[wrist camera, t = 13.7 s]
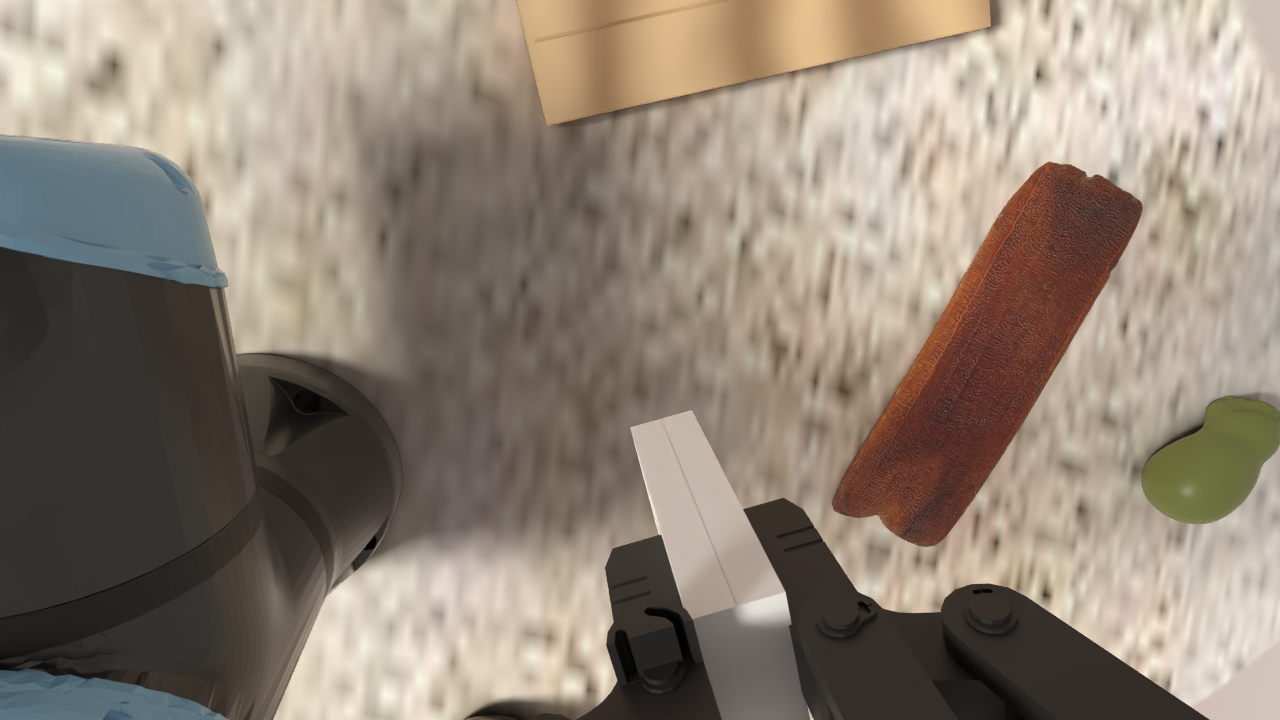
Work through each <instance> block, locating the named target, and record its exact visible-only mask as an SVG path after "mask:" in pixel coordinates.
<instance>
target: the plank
mask: <svg viewBox="0 0 1280 720" xmlns="http://www.w3.org/2000/svg"><path fill="white" fill-rule="evenodd" d="M516 2H517V6H518V10H519V14H520V18H521V22H522V27H523V31H524V35H525V39H526V43H527V47H528V51H529V56H530V60H531V64H532V68H533V72H534V76H535V80H536V85H537V89H538V93H539V97H540V101H541V105H542V109H543V114H544V118H545V122H546V126H550V125H554V124H559V123H563V122H568V121H572V120H577V119H581V118H586V117H590V116H595V115H599V114H604V113H608V112H613V111H617V110H622V109H626V108H630V107H635V106H639V105H644V104H648V103H653V102H657V101H662V100H666V99H671V98H675V97H680V96H684V95H689V94H693V93H698V92H702V91H707V90H711V89H716V88H720V87H725V86H729V85H733V84H738V83H742V82H747V81H751V80H756V79H760V78H765V77H769V76H774V75H778V74H783V73H787V72H792V71H796V70H801V69H805V68H810V67H814V66H819V65H823V64H828V63H832V62H836V61H841V60H845V59H850V58H854V57H859V56H863V55H868V54H872V53H877V52H881V51H886V50H890V49H895V48H899V47H904V46H908V45H913V44H917V43H922V42H926V41H930V40H935V39H939V38H944V37H948V36H953V35H957V34H962V33H966V32H971V31H975V30H979V29H983V28H986V27H990V26H991V19H990V1H989V0H516Z"/></svg>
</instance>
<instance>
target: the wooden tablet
mask: <svg viewBox="0 0 1280 720" xmlns="http://www.w3.org/2000/svg"><path fill="white" fill-rule="evenodd" d="M1141 212H1142V204H1141V202H1140V201H1139V200H1137V199H1135V198H1134V197H1133V196H1132V195H1131V194H1129V193H1128V192H1125V191H1122V190H1121V189H1120V188H1118V187H1116V186H1115V185H1114V184H1113V183H1111V182H1110V181H1109V180H1107V179H1106V178H1104V177H1102V176H1100V175H1094V176H1093V177H1087V175H1086V172H1084V171H1082V170H1080V169H1078V168H1076V167H1074V166H1072V165H1069V164H1062V165H1061V164H1057V163H1053V162H1048V163H1046V164H1044V165H1043V166H1041V167H1039V168H1038V169H1037V170H1036V171H1035V172H1034V173H1033V174H1032V175H1031V176H1030V177H1029V179H1028V180H1027V181H1026V182H1025V183H1024V184H1023V185H1022V187H1021V188H1020V189H1019V190H1018V191H1017V192H1016V193H1015V194H1014V195H1013V196H1012V198H1011V199H1010V200H1009V201H1008V203H1007V204H1006V206H1005V207H1004V208H1003V210H1002V211H1001V213H1000V214H999V216H998V218H997V219H996V221H995V223H994V224H993V226H992V228H991V230H990V232H989V233H988V235H987V237H986V239H985V241H984V243H983V244H982V246H981V248H980V249H979V251H978V253H977V255H976V257H975V258H974V260H973V262H972V263H971V265H970V267H969V269H968V270H967V272H966V274H965V275H964V277H963V279H962V281H961V282H960V284H959V286H958V288H957V290H956V291H955V293H954V295H953V296H952V298H951V301H950V303H949V304H948V306H947V308H946V309H945V311H944V313H943V314H942V316H941V318H940V320H939V322H938V323H937V324H936V326H935V328H934V330H933V331H932V333H931V335H930V336H929V338H928V340H927V342H926V343H925V345H924V346H923V348H922V350H921V351H920V353H919V354H918V356H917V358H916V360H915V362H914V363H913V365H912V366H911V368H910V369H909V371H908V373H907V374H906V376H905V377H904V379H903V380H902V382H901V383H900V385H899V386H898V388H897V390H896V392H895V394H894V395H893V397H892V399H891V400H890V402H889V403H888V405H887V407H886V409H885V410H884V411H883V413H882V415H881V417H880V418H879V420H878V422H877V423H876V425H875V426H874V428H873V429H872V431H871V432H870V434H869V436H868V437H867V439H866V440H865V442H864V443H863V445H862V446H861V447H860V449H859V451H858V453H857V455H856V456H855V458H854V459H853V461H852V462H851V464H850V466H849V468H848V469H847V471H846V473H845V476H844V477H843V479H842V481H841V482H840V484H839V487H838V489H837V491H836V494H835V497H834V499H833V502H832V505H833V509H834V510H835V511H836V512H838V513H840V514H843V515H846V516H851V517H854V518H861V517H869V516H873V515H878V516H880V519H881V520H882V522H883V524H884V525H885V526H886V527H887V528H888V529H889V530H890V531H891V532H893V533H894V534H896V535H897V536H899V537H901V538H902V539H904V540H906V541H908V542H911V543H913V544H916V545H919V546H924V547H928V546H935V545H937V544H938V543H939V542H941V541H942V540H943V539H944V537H945V536H946V535H947V534H948V533H949V532H950V530H951V529H952V528H953V526H954V525H955V523H956V522H957V521H958V520H959V518H960V517H961V516H962V514H963V513H964V511H965V510H966V508H967V507H968V506H969V504H970V503H971V502H972V500H973V499H974V497H975V495H976V494H977V493H978V491H979V490H980V488H981V487H982V485H983V483H984V482H985V480H986V479H987V477H988V476H989V474H990V473H991V471H992V470H993V468H994V467H995V466H996V464H997V462H998V461H999V459H1000V458H1001V456H1002V455H1003V453H1004V451H1005V450H1006V448H1007V446H1008V445H1009V444H1010V442H1011V441H1012V439H1013V437H1014V436H1015V434H1016V432H1017V431H1018V429H1019V428H1020V426H1021V425H1022V423H1023V422H1024V420H1025V418H1026V417H1027V415H1028V413H1029V412H1030V410H1031V408H1032V407H1033V405H1034V403H1035V402H1036V400H1037V398H1038V397H1039V395H1040V393H1041V392H1042V390H1043V388H1044V386H1045V385H1046V383H1047V381H1048V380H1049V378H1050V376H1051V375H1052V373H1053V371H1054V369H1055V368H1056V366H1057V365H1058V363H1059V361H1060V360H1061V358H1062V356H1063V355H1064V353H1065V351H1066V349H1067V348H1068V346H1069V344H1070V342H1071V341H1072V339H1073V337H1074V336H1075V334H1076V332H1077V330H1078V329H1079V327H1080V325H1081V324H1082V322H1083V320H1084V318H1085V317H1086V315H1087V314H1088V312H1089V311H1090V309H1091V307H1092V305H1093V303H1094V302H1095V300H1096V298H1097V297H1098V295H1099V294H1100V292H1101V290H1102V288H1103V287H1104V285H1105V284H1106V282H1107V280H1108V278H1109V275H1110V272H1111V270H1112V269H1113V268H1114V267H1115V266H1116V264H1117V263H1118V260H1119V258H1120V257H1121V255H1122V253H1123V252H1124V250H1125V248H1126V247H1127V245H1128V242H1129V240H1130V238H1131V237H1132V235H1133V233H1134V230H1135V228H1136V226H1137V224H1138V221H1139V219H1140V216H1141Z"/></svg>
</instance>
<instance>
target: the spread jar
mask: <svg viewBox="0 0 1280 720" xmlns="http://www.w3.org/2000/svg"><path fill="white" fill-rule="evenodd" d="M466 720H518V719H515V718H511V717H507V716H500V715H483V716H476V717H471V718H468V719H466Z"/></svg>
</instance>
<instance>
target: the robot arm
mask: <svg viewBox="0 0 1280 720" xmlns="http://www.w3.org/2000/svg"><path fill="white" fill-rule="evenodd" d="M228 286H229V285H228V280H227V277H226V275H225V273H224V272H223V271H221V270H220V269H219V268H218V265H217V261H216V257H215V253H214V249H213V245H212V241H211V237H210V233H209V229H208V225H207V220H206V216H205V212H204V208H203V204H202V200H201V197H200V194H199V192H198V190H197V188H196V186H195V184H194V183H193V181H192V180H191V178H190V177H189V176H188V175H187V174H186V173H185V172H184V171H183V170H182V169H181V168H180V167H179V166H178V165H177V164H175V163H174V162H172V161H171V160H169V159H168V158H166V157H164V156H162V155H160V154H158V153H155V152H153V151H150V150H147V149H143V148H137V147H131V146H124V145H115V144H104V143H94V142H83V141H72V140H62V139H51V138H39V137H28V136H17V135H5V134H0V720H273V719H274V716H275V714H276V712H277V709H278V707H279V705H280V702H281V700H282V698H283V695H284V693H285V691H286V688H287V686H288V684H289V681H290V679H291V677H292V674H293V672H294V670H295V667H296V665H297V663H298V660H299V658H300V656H301V653H302V651H303V649H304V646H305V644H306V642H307V639H308V637H309V635H310V632H311V630H312V628H313V625H314V623H315V620H316V618H317V616H318V613H319V611H320V608H321V606H322V604H323V602H324V599H325V597H326V596H327V595H329V594H330V593H331V592H332V591H333V590H334V589H335V588H336V587H338V586H339V585H340V584H341V583H342V582H343V581H344V580H345V579H347V578H348V577H349V576H350V575H351V574H352V573H353V572H354V571H356V570H357V569H358V568H359V567H360V566H361V565H362V564H363V563H364V562H366V561H367V560H368V558H369V557H370V556H371V555H372V554H373V553H374V551H375V550H376V549H377V547H378V546H379V544H380V543H381V541H382V540H383V538H384V536H385V534H386V532H387V530H388V528H389V526H390V523H391V521H392V518H393V515H394V513H395V510H396V507H397V504H398V501H399V497H400V492H401V484H402V470H401V461H400V456H399V452H398V449H397V446H396V443H395V440H394V438H393V435H392V433H391V431H390V429H389V428H388V426H387V424H386V423H385V421H384V419H383V418H382V417H381V415H380V414H379V412H378V411H377V410H376V409H375V408H374V406H373V405H372V404H371V403H370V402H369V401H368V400H367V399H366V398H365V397H364V396H363V395H362V394H361V393H359V392H358V391H357V390H356V389H355V388H353V387H352V386H351V385H349V384H348V383H346V382H345V381H343V380H342V379H340V378H339V377H337V376H335V375H333V374H332V373H330V372H327V371H325V370H323V369H321V368H319V367H316V366H314V365H311V364H308V363H305V362H302V361H299V360H295V359H291V358H286V357H281V356H274V355H263V354H247V355H236V351H235V346H234V340H233V335H232V329H231V324H230V318H229V313H228V307H227V302H226V297H225V291H224V288H225V287H228ZM630 429H631V433H632V436H633V440H634V444H635V448H636V451H637V455H638V459H639V463H640V466H641V470H642V474H643V478H644V481H645V485H646V489H647V493H648V496H649V500H650V504H651V508H652V511H653V515H654V519H655V523H656V526H657V529H658V533H659V535H658V536H655V537H651V538H648V539H644V540H641V541H637V542H634V543H630V544H627V545H623V546H620V547H616V548H613V549H612V552H611V554H610V557H609V559H608V562H607V564H606V567H605V570H606V576H607V583H608V588H609V595H610V601H611V608H612V614H613V620H614V623H613V625H612V626H611V628H610V630H609V631H608V635H607V644H606V646H607V649H608V652H609V655H610V658H611V661H612V664H613V668H614V671H615V674H616V677H617V683H616V685H615V686H614V688H613V690H612V692H611V693H610V694H609V695H608V696H607V698H606V699H605V700H604V701H603V702H602V703H601V704H600V705H598V706H597V707H596V708H594V709H593V710H592V711H590V712H589V713H587V714H585V715H584V716H582V717H580V718H579V719H577V720H810V717H809V712H808V707H809V710H810V712H811V714H812V716H813V718H814V720H1209V719H1208V718H1206V717H1205V716H1203V715H1202V714H1200V713H1199V712H1197V711H1196V710H1194V709H1193V708H1191V707H1190V706H1188V705H1187V704H1185V703H1184V702H1182V701H1181V700H1179V699H1178V698H1176V697H1175V696H1173V695H1172V694H1170V693H1169V692H1167V691H1166V690H1164V689H1163V688H1161V687H1160V686H1158V685H1157V684H1155V683H1154V682H1153V681H1151V680H1150V679H1148V678H1147V677H1145V676H1144V675H1142V674H1141V673H1139V672H1138V671H1136V670H1135V669H1133V668H1132V667H1130V666H1129V665H1127V664H1126V663H1124V662H1123V661H1121V660H1120V659H1118V658H1117V657H1115V656H1114V655H1112V654H1111V653H1109V652H1108V651H1106V650H1105V649H1103V648H1102V647H1100V646H1099V645H1097V644H1096V643H1094V642H1093V641H1091V640H1090V639H1088V638H1087V637H1085V636H1084V635H1083V634H1081V633H1080V632H1078V631H1077V630H1075V629H1074V628H1072V627H1071V626H1069V625H1068V624H1066V623H1065V622H1063V621H1062V620H1060V619H1059V618H1057V617H1056V616H1054V615H1053V614H1051V613H1050V612H1048V611H1047V610H1045V609H1044V608H1042V607H1041V606H1039V605H1038V604H1036V603H1035V602H1033V601H1032V600H1030V599H1029V598H1027V597H1026V596H1024V595H1022V594H1020V593H1018V592H1016V591H1014V590H1012V589H1010V588H1008V587H1003V586H998V585H993V584H971V585H968V586H965V587H962V588H959V589H956V590H954V591H953V592H952V593H951V594H950V595H948V596H947V597H946V598H945V600H944V603H943V605H942V608H941V612H937V613H898V612H894V611H889V610H885V609H882V608H881V607H880V606H879V605H878V604H877V603H876V602H875V601H874V600H873V599H872V598H870V597H868V596H865V595H863V594H861V593H858V592H857V590H856V589H855V587H854V586H853V584H852V583H851V581H850V580H849V578H848V577H847V575H846V574H845V572H844V571H843V569H842V568H841V566H840V565H839V563H838V562H837V560H836V559H835V557H834V556H833V554H832V553H831V551H830V550H829V548H828V547H827V545H826V544H825V542H823V540H822V537H821V536H820V534H819V533H818V531H817V530H816V528H814V525H813V524H812V522H811V521H810V519H809V518H808V516H807V515H806V513H805V512H804V510H803V509H802V508H800V507H798V506H797V505H795V504H793V503H791V502H790V501H788V500H786V499H785V498H781V499H778V500H774V501H771V502H767V503H764V504H760V505H757V506H753V507H750V508H746V509H743V508H742V507H741V505H740V503H739V501H738V499H737V497H736V495H735V493H734V491H733V489H732V487H731V485H730V483H729V481H728V479H727V477H726V475H725V474H724V472H723V470H722V468H721V466H720V464H719V462H718V460H717V458H716V456H715V454H714V452H713V450H712V448H711V446H710V444H709V442H708V440H707V439H706V437H705V435H704V433H703V431H702V429H701V427H700V425H699V423H698V421H697V419H696V417H695V415H694V413H693V411H692V410H690V411H687V412H683V413H679V414H676V415H672V416H668V417H665V418H661V419H658V420H654V421H650V422H647V423H643V424H640V425H636V426H632V427H630ZM807 705H808V707H807ZM526 720H569V719H568V718H566V717H564V716H562V715H558V714H546V713H545V714H542V715H538V716H534V717H530V718H528V719H526Z"/></svg>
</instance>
